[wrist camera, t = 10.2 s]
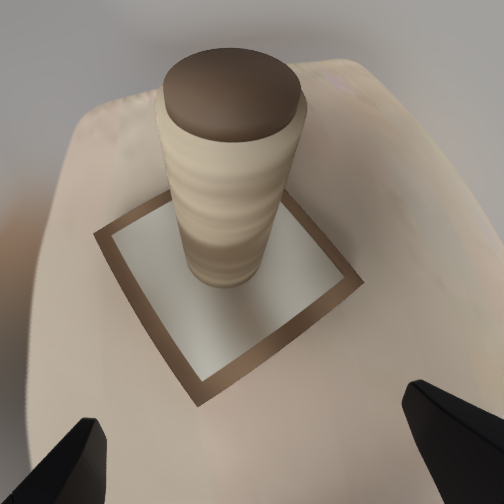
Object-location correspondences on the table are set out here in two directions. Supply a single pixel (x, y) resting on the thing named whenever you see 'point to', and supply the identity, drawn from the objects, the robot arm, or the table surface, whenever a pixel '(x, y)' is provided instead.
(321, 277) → the square tray
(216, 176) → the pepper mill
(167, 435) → the table surface
